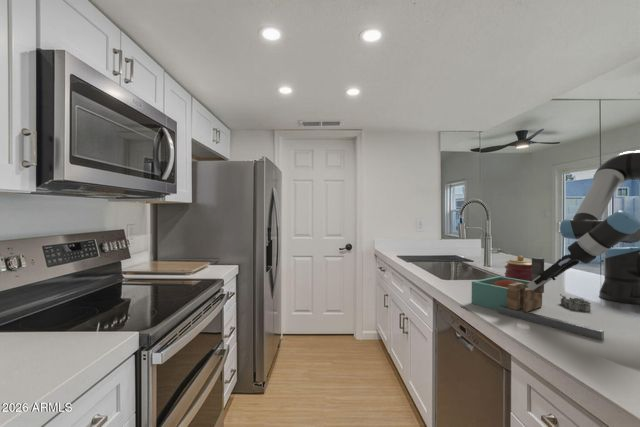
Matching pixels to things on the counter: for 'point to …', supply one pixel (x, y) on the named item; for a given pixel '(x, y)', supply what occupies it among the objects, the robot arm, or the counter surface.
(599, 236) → the robot arm
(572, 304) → the egg carton
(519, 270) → the canister
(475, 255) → the counter surface
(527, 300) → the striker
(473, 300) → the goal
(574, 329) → the rail
